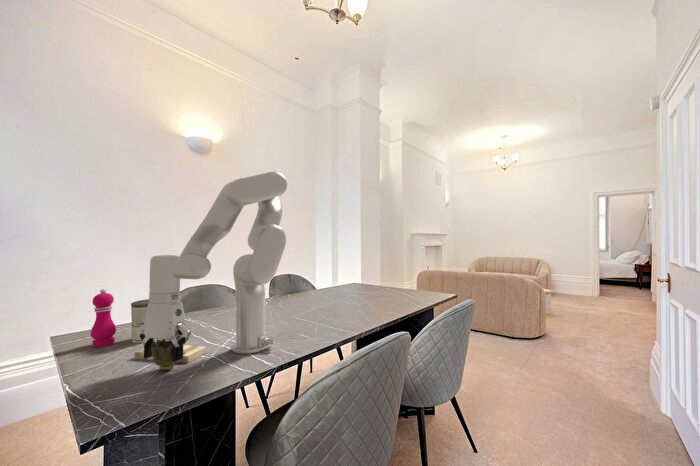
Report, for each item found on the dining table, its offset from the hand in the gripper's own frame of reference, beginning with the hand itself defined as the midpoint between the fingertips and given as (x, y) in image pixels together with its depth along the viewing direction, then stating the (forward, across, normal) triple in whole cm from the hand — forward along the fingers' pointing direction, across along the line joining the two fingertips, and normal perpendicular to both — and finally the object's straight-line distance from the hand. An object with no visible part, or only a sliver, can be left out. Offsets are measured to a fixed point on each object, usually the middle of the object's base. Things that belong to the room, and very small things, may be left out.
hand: (163, 358), depth 86 cm
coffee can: (+4, +30, -23) cm, 37 cm away
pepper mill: (+4, +40, -15) cm, 43 cm away
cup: (+4, 0, -1) cm, 4 cm away
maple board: (+3, +6, -10) cm, 12 cm away
